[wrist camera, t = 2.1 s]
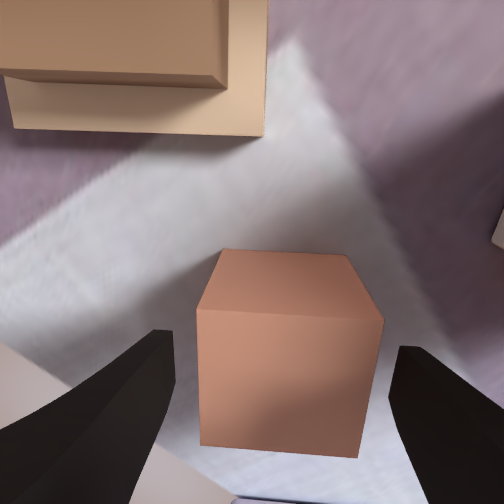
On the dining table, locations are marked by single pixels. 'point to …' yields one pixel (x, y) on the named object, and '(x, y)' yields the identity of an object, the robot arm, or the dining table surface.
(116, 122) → the birch base slab
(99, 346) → the dining table surface
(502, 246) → the small box
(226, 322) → the terracotta cube
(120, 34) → the walnut top slab
